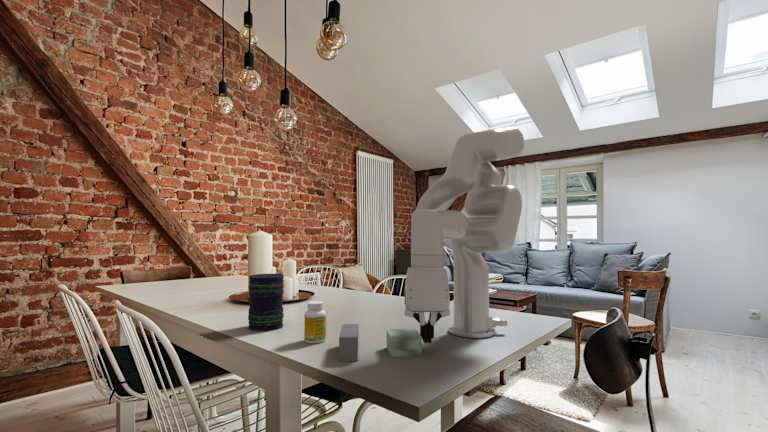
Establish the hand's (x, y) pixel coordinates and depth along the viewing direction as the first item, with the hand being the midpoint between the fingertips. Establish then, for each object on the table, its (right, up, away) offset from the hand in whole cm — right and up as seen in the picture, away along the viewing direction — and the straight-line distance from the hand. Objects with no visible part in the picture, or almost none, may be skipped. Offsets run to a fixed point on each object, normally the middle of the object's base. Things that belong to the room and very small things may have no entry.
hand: (426, 341), depth 90 cm
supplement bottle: (-27, -3, +9) cm, 29 cm away
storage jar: (-44, -3, +23) cm, 50 cm away
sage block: (-5, -3, 0) cm, 6 cm away
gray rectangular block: (-18, -2, -1) cm, 18 cm away
